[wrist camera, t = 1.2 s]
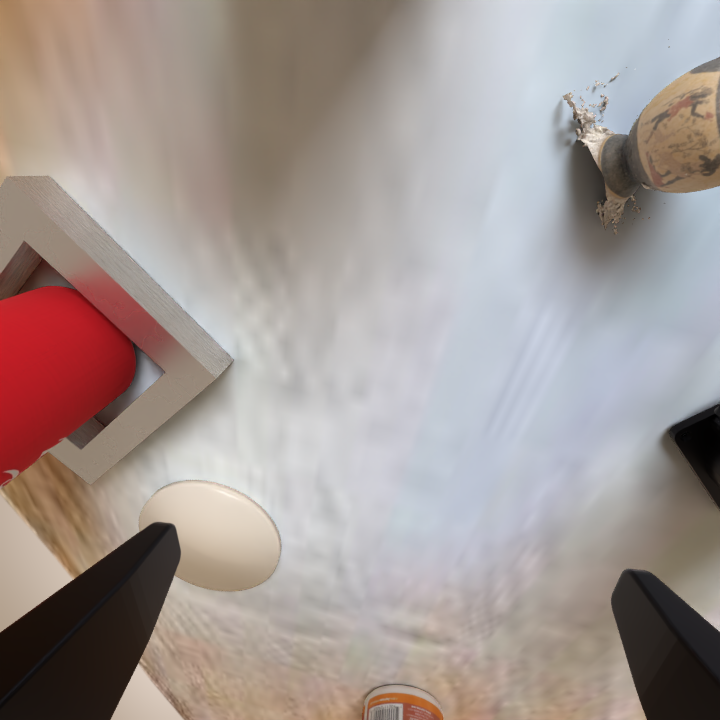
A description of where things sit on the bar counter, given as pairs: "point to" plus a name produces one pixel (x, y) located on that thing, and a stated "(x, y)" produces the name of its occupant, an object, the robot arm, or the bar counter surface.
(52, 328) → the beverage can
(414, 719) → the pill bottle
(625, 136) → the vase
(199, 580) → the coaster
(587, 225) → the bar counter surface
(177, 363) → the square frame
